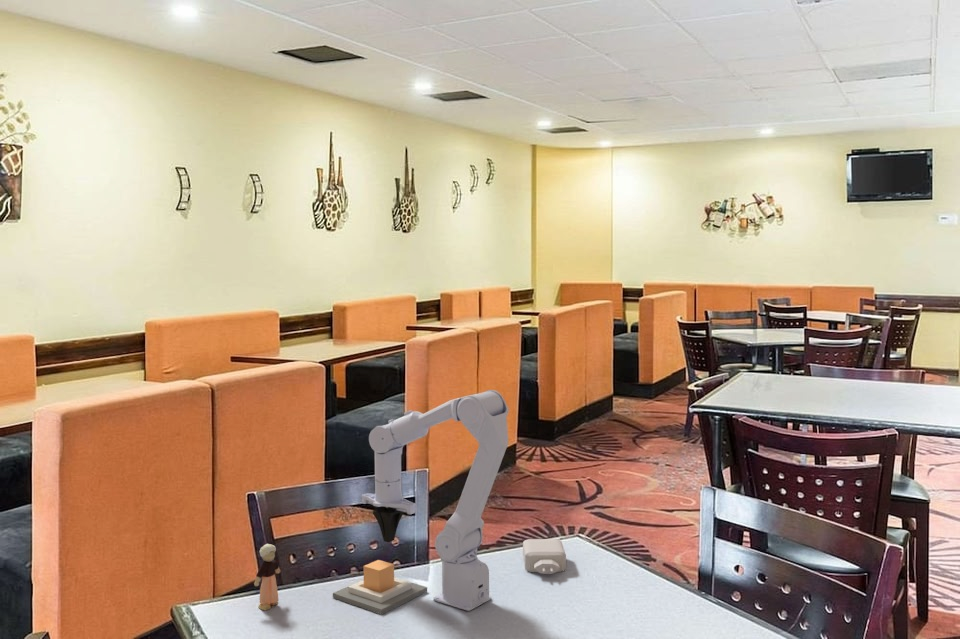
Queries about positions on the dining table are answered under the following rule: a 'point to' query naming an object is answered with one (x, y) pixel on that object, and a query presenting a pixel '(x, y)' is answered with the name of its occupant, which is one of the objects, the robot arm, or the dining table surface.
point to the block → (379, 576)
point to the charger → (544, 556)
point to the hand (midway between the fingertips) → (389, 540)
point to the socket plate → (380, 595)
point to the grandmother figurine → (267, 577)
